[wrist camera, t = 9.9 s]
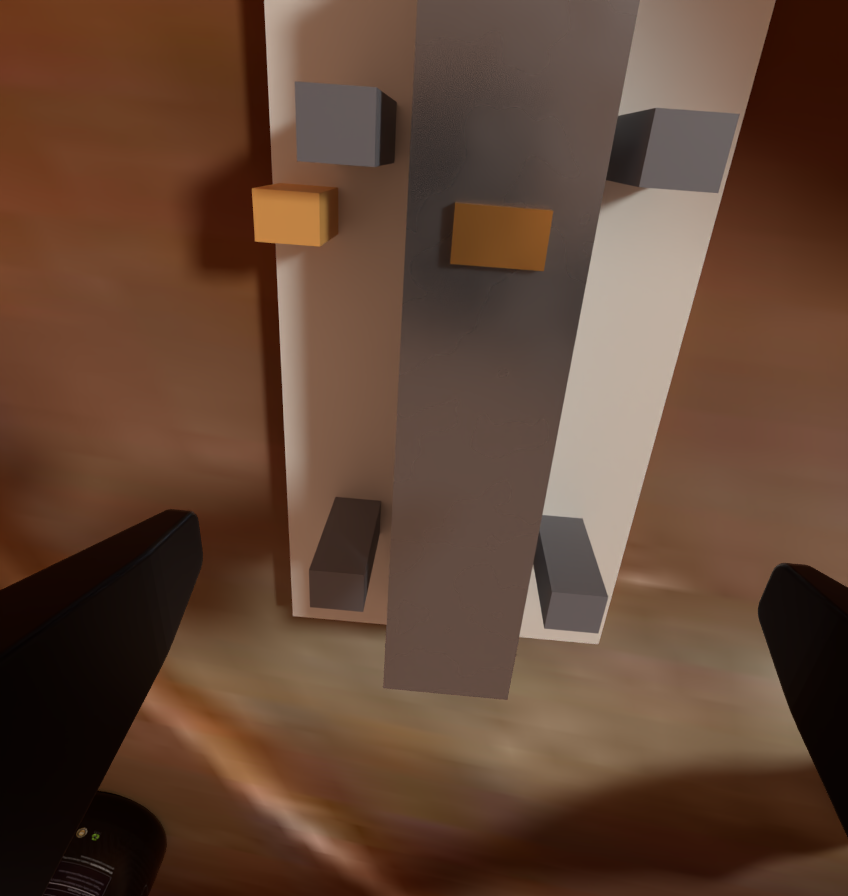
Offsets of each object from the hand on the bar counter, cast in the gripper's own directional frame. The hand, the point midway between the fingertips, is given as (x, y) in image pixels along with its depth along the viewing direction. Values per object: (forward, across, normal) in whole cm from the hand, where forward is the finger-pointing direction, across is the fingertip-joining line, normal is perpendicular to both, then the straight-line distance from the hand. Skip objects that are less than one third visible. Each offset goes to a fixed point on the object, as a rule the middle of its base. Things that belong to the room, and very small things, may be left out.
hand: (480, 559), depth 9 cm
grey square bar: (+10, 0, 0) cm, 10 cm away
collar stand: (+11, 0, 0) cm, 11 cm away
